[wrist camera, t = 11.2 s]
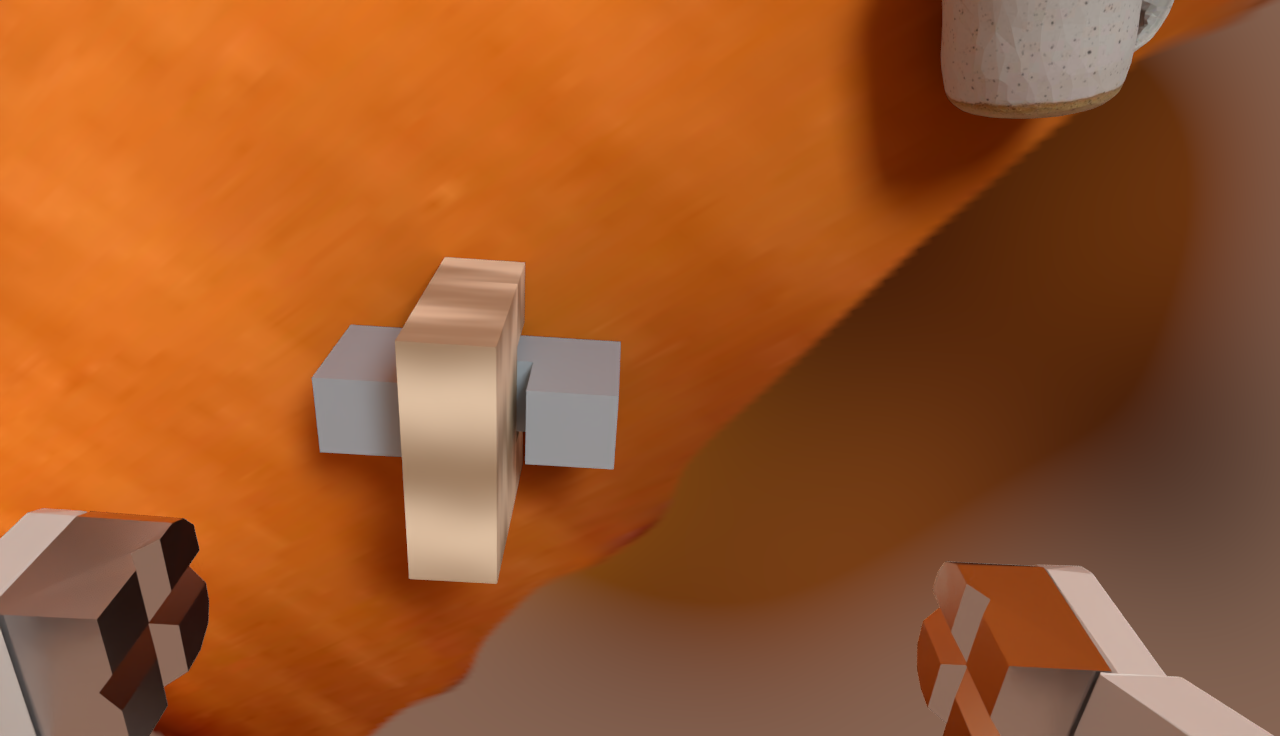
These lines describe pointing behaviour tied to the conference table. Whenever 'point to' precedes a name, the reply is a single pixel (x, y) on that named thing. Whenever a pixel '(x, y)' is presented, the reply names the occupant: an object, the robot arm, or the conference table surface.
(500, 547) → the wooden notched block
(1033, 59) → the ceramic mug
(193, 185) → the conference table surface
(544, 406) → the grey notched block
